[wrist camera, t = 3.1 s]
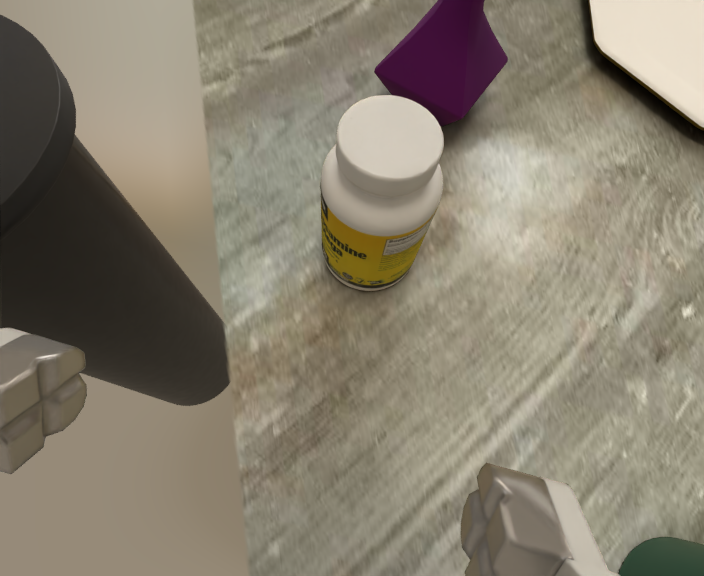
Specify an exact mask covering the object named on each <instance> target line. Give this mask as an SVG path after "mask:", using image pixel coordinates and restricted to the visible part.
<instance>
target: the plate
mask: <svg viewBox="0 0 704 576" xmlns="http://www.w3.org/2000/svg"><path fill="white" fill-rule="evenodd" d="M588 4H589V11H590V19H591V27H592V34H593V42H594V44H595V46H596V47H597V49H598V50H599V52H600V53H601V54H602V55H603V56H604V57H606V58H607V59H608V60H609V61H611V62H612V63H613V64H615V65H616V66H617V67H619V68H620V69H621V70H622V71H624V72H625V73H626V74H628V75H629V76H630V77H632V78H633V79H634V80H635V81H637V82H638V83H639V84H641V85H642V86H643V87H645V88H646V89H647V90H648V91H650V92H651V93H652V94H654V95H655V96H656V97H658V98H659V99H660V100H662V101H663V102H664V103H665V104H667V105H668V106H669V107H671V108H672V109H673V110H675V111H676V112H677V113H678V114H680V115H681V116H682V117H684V118H685V119H686V120H688V121H689V122H690V123H691V124H693V125H694V126H695V127H697V128H699V129H701V130H703V131H704V0H588Z"/></svg>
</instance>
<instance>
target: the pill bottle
mask: <svg viewBox="0 0 704 576" xmlns="http://www.w3.org/2000/svg"><path fill="white" fill-rule="evenodd" d="M443 146H444V137H443V133H442V130H441V127H440V125H439V123H438V121H437V120H436V118H435V117H434V116H433V115H432V114H431V113H430V112H429V111H428V110H427V109H426V108H424V107H423V106H421V105H420V104H418V103H416V102H414V101H412V100H409V99H407V98H403V97H399V96H393V95H379V96H372V97H369V98H366V99H363V100H361V101H359V102H357V103H355V104H354V105H352V106H351V107H350V108H349V109H348V110H347V111H346V112H345V113H344V115H343V116H342V118H341V120H340V122H339V124H338V128H337V137H336V145H335V146H334V147H333V148H332V149H331V151H330V152H329V154H328V155H327V157H326V159H325V162H324V164H323V168H322V172H321V184H320V188H321V221H322V249H323V255H324V259H325V262H326V264H327V266H328V268H329V270H330V271H331V272H332V274H333V275H334V276H335V277H336V278H337V279H338V280H339V281H341V282H342V283H344V284H345V285H347V286H349V287H352V288H354V289H358V290H364V291H376V290H381V289H385V288H388V287H390V286H392V285H394V284H396V283H397V282H399V281H400V280H401V279H402V278H403V277H404V276H405V275H406V274H407V272H408V271H409V269H410V267H411V265H412V264H413V262H414V260H415V257H416V255H417V253H418V250H419V248H420V246H421V243H422V241H423V239H424V237H425V234H426V232H427V230H428V228H429V225H430V223H431V221H432V219H433V216H434V214H435V212H436V210H437V208H438V205H439V203H440V199H441V196H442V191H443V176H442V171H441V168H440V165H439V161H440V158H441V155H442V152H443Z"/></svg>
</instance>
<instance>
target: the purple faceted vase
mask: <svg viewBox="0 0 704 576" xmlns="http://www.w3.org/2000/svg"><path fill="white" fill-rule="evenodd" d="M483 5H484V0H438V1H437V2H436V4H435V5H434V6H433V7H432V8H431V9H430V10H429V11H428V13H427V14H426V15H425V16H424V17H423V18H422V20H421V21H420V22H419V23H418V24H417V25H416V26H415V27H414V29H413V30H412V31H411V32H410V33H409V34H408V35H407V36H406V37H405V38H404V39H403V40H402V41H401V42H400V43H399V44H398V45H397V46H396V47H395V48H394V49H393V50H392V51H391V52H390V53H389V54H388V55H387V56H386V57H385V58H384V59H383V60H382V61H381V62H380V63H379V64H378V66H377V67H376V68H375V71H374V72H375V74H376V75H377V76H378V78H379V79H380V80H381V81H382V83H383V84H384V85H385V87H386V88H387V89H388V90H389V92H390V93H391V94H392V95H393V96H399V97H403V98H407V99H409V100H412V101H414V102H416V103H418V104H420V105H421V106H423V107H424V108H426V109H427V110H428V111H429V112H430V113H431V114H432V115H433V116H434V117H435V118H436V120H437V121H438V123H439V125H440V126H441V127H442V126H444V125H447V124H449V123H452V122H455V121H457V120H460V119H462V118H463V117H464V116H465V115H466V114H467V112H468V111H469V110H470V108H471V107H472V106H473V105H474V103H475V102H476V101H477V100H478V98H479V97H480V96H481V94H482V93H483V92H484V91H485V89H486V88H487V87H488V86H489V84H490V83H491V82H492V80H493V79H494V78H495V77H496V75H497V74H498V73H499V72H500V70H501V69H502V68H503V67H504V65H505V64H506V63H507V60H508V58H507V56H506V54H505V52H504V51H503V49H502V47H501V46H500V44H499V42H498V40H497V39H496V37H495V35H494V33H493V32H492V30H491V28H490V25H489V23H488V21H487V18H486V16H485V14H484V11H483Z"/></svg>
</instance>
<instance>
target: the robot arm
mask: <svg viewBox="0 0 704 576" xmlns="http://www.w3.org/2000/svg"><path fill="white" fill-rule="evenodd" d="M85 367H86V365H85V355H84V352H83V351H81V350H80V349H78V348H76V347H73V346H70V345H67V344H63V343H60V342H57V341H54V340H50V339H47V338H44V337H41V336H37V335H34V334H29V333H26V332H23V331H19V330H16V329H13V328H0V471H1V472H5V473H8V474H12V473H14V471H16V470H17V469H18V468H19V467H20V466H22V465H23V464H24V463H25V462H26V461H27V460H29V459H30V458H31V457H32V456H33V455H35V454H36V453H37V452H38V451H40V450H41V449H42V448H43V447H44V442H45V438H46V436H49V435H52V434H54V433H58V432H60V431H63V430H64V429H65V428H66V427H68V426H69V425H70V424H71V423H72V422H73V421H74V420H75V419H76V417H77V416H78V414H79V413H80V411H81V410H82V408H83V407H84V403H85V399H86V396H87V388H86V384H85V382H84V381H83V379H82V378H81V376H80V375H79V373H80V372H81V371H82V370H83V369H84V368H85ZM477 481H478V487H479V489H478V490H476V491H474V492H472V493H470V494H469V496H468V498H467V500H466V503H465V505H464V508H463V514H462V519H461V542H462V548H463V550H464V551H465V553H466V554H467V556H468V557H469V559H470V562H469V564H468V566H467V568H466V570H465V576H620V575H619V574H617V573H614V572H611V571H609V569H608V567H607V565H606V563H605V560H604V558H603V556H602V554H601V551H600V549H599V547H598V545H597V543H596V540H595V538H594V536H593V534H592V531H591V529H590V527H589V525H588V522H587V520H586V518H585V516H584V513H583V511H582V509H581V507H580V504H579V502H578V500H577V498H576V495H575V493H574V491H573V489H572V488H571V487H570V486H569V485H568V484H566V483H562V482H559V481H555V480H551V479H547V478H543V477H537V476H533V475H530V474H526V473H522V472H519V471H515V470H511V469H508V468H504V467H500V466H497V465H493V464H490V463H485V465H484V466H483V467H482V468H481V470H480V472H479V474H478V476H477Z"/></svg>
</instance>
